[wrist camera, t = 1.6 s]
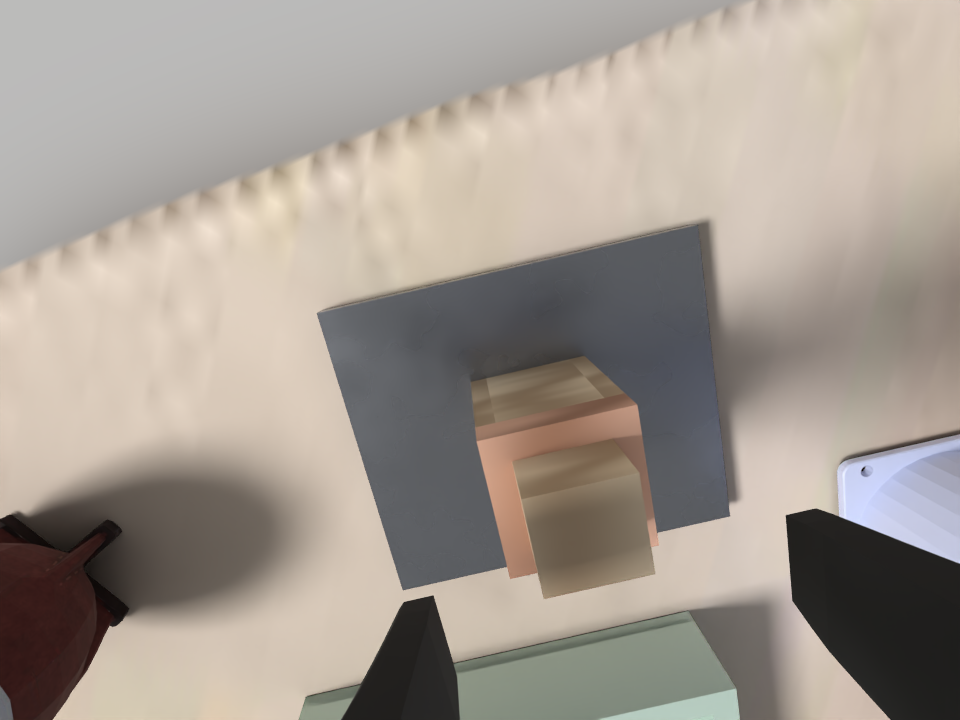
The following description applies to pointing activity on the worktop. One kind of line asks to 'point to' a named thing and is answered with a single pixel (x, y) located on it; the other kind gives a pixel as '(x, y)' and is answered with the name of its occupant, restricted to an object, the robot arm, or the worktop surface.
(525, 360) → the base
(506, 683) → the bin
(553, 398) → the square capped bottle
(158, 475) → the worktop surface
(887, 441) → the worktop surface
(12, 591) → the mate gourd
